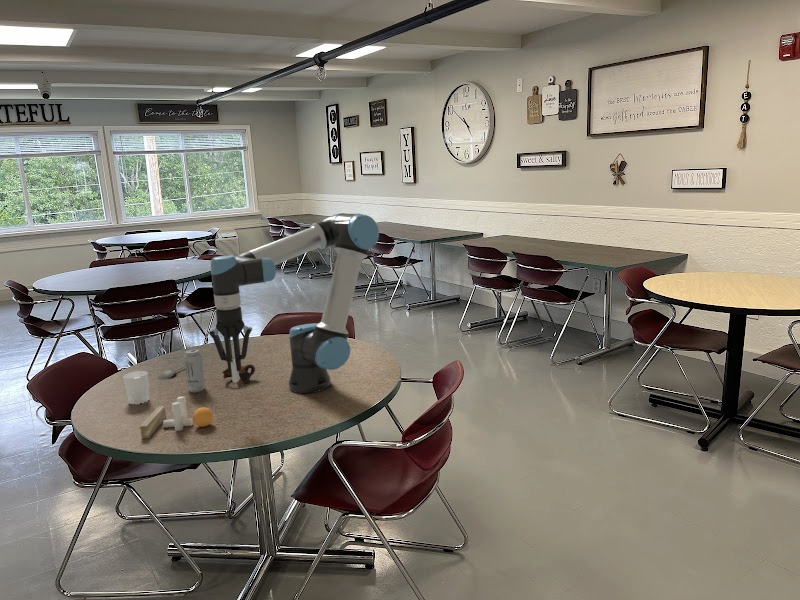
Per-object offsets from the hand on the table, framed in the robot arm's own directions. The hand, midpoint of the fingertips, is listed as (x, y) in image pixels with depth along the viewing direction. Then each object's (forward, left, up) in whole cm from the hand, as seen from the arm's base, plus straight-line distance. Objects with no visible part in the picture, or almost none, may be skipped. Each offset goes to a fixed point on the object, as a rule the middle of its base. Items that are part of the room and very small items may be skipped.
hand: (236, 380), depth 188 cm
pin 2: (+18, +2, -14) cm, 23 cm away
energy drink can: (+23, -33, -14) cm, 43 cm away
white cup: (+41, -25, -14) cm, 50 cm away
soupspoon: (+37, -58, -15) cm, 70 cm away
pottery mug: (+8, -40, -14) cm, 43 cm away
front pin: (+15, 0, -13) cm, 20 cm away
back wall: (+27, 0, -14) cm, 30 cm away
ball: (+11, +1, -11) cm, 16 cm away
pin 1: (+18, -2, -14) cm, 23 cm away
